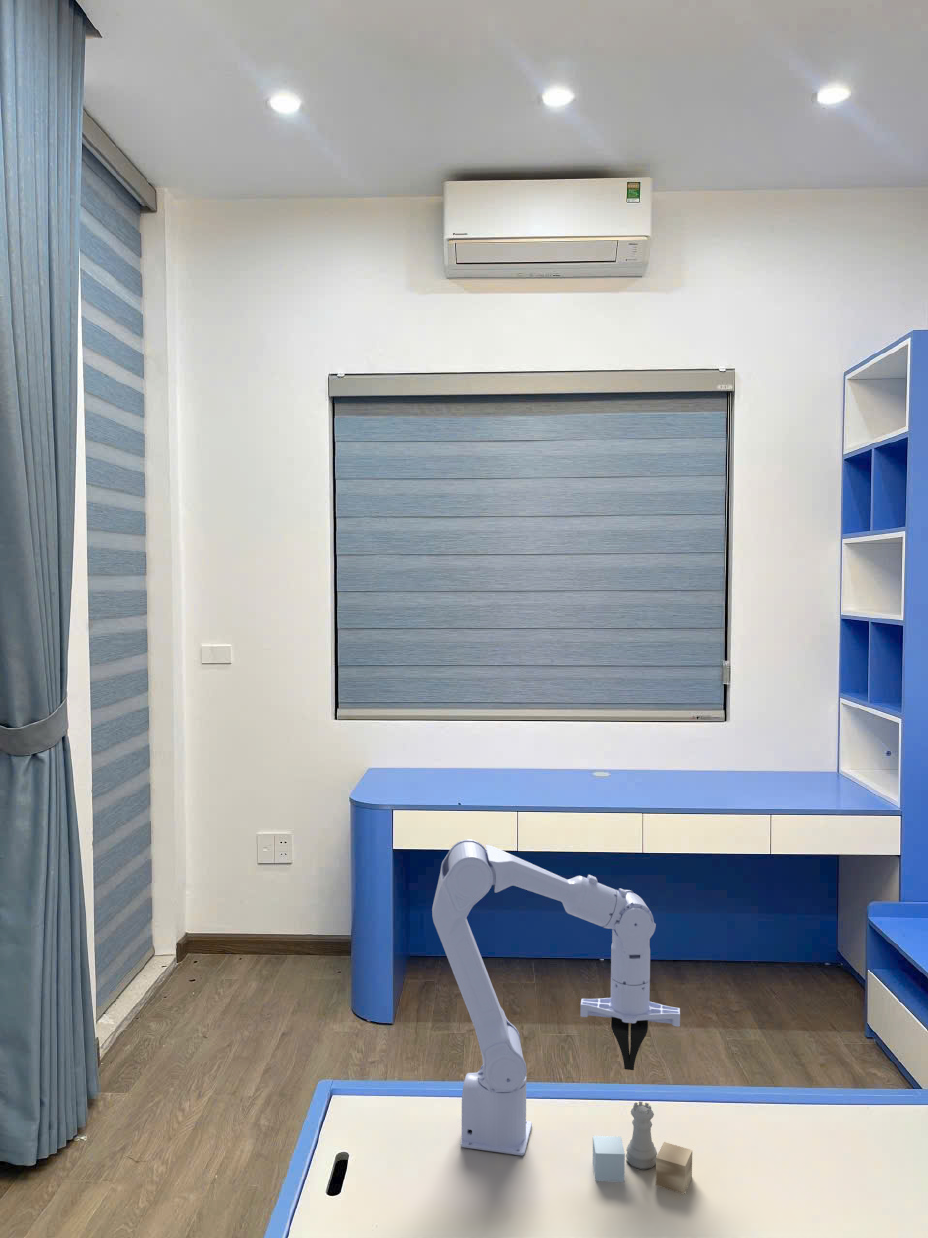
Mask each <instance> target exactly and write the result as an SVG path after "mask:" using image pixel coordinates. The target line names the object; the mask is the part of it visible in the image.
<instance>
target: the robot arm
mask: <svg viewBox="0 0 928 1238" xmlns="http://www.w3.org/2000/svg"><path fill="white" fill-rule="evenodd" d="M439 872H440V873H439V876H438V881H437V885H436V889H435V894H434V898H433V904H432V908H431V911H432V912H431V913H432V915H431V916H432V921H433V924H434V927H435V929H436V932H437V935H438V937H439V939H440V942H441V944H442V947H443V949H444V952H445V955H446V958H447V960H448V963H449V965H450V968H451V971H452V973H453V977H454V978H455V981H456V983H457V986H458V989H459V992H460V993H461V996H462V999H463V1002H464V1004H465V1006H466V1010H467V1012H468V1014H469V1017H470V1020H471V1022H472V1024H473V1027H474V1031H475V1034H476V1037H477V1041H478V1045H479V1050H480V1053H481V1059H482V1065H480V1068H479V1070H478V1071H477V1072H467V1073H466V1075H465V1077H464V1081H463V1085H462V1095H461V1140H460V1147H461V1148H466V1149H473V1150H479V1151H480V1150H481V1151H487V1152H494V1153H500V1154H501V1153H502V1154H507V1155H514V1156H515V1155H516V1156H524V1155H526V1150H527V1146H528V1142H529V1140H530V1139H529V1138H530V1134H531V1130H532V1128H533V1127H532V1126H533V1123H532V1121H530V1120H527V1063H526V1061H525V1059H524V1054H523V1049H522V1044H521V1034H520V1032H519V1031H518V1030H519V1029H518V1028H516V1026H515V1025H514V1024H513V1023H512V1022H510V1021H509V1019H508V1018H507V1016H506V1014H505V1013H506V1012H505V1011H504V1009H503V1008H502V1007H501V1004H500V1002H499V999H498V996H497V994H496V991H495V989H494V987H493V986H494V985H493V983H492V981H491V978H490V976H489V973H488V970H487V968H486V965H485V963H484V959H483V958H482V954H481V953H480V950H479V947H478V945H477V941H476V939H475V936H474V934H473V932H472V928H471V927H470V924H469V922H468V918H467V917H468V916H469V913H470V912H471V910H472V909H473V907H474V906H475V905H476V904H477V903H478V902H479V901H480V900H482V899H483V898H484V897H485V896H486V895H487V894H488V893H489V891H490V889H492V887H493V891H494V893H499V892H501V891H504V890H506V889H507V888H510V887H512V886H514V887H516V888H517V887H518V888H520V889H523V890H525V891H526V890H527V891H528V892H532V893H535V894H538V895H541V896H543V897H546V898H549V899H553V900H556V901H559V902H561V903H562V906H563V908H564V910H565V913H567V914H568V915H571V916H574V917H575V918H579V919H581V920H584V921H587V922H588V923H592V924H593V925H597V926H599V927H602V928H603V929H609V930H611V932H612V933H611V936H612V937H611V942H612V943H611V949H610V952H611V955H610V962H611V963H610V997H604V998H581V1000H580V1010H579V1011H580V1012H579V1013H580V1015H579V1016H580V1017H582V1018H588V1016H590V1017H591V1016H592V1017H602V1018H609V1019H611V1024H610V1025H611V1026H610V1028H611V1031H612V1033H613V1035H614V1038H615V1039H616V1042H617V1043H618V1047H619V1050H620V1053H621V1056H622V1059H623V1060H622V1061H623V1069H624V1070H628V1071H634V1070H635V1063H636V1059H637V1057H638V1052H639V1050H640V1048H641V1045H642V1044H643V1041H644V1039H645V1038H646V1036H647V1034H648V1031H649V1023H650V1022H651V1023H652V1022H653V1023H661V1024H662V1023H663V1024H671V1025H672V1026H673V1027H681V1008H680V1007H674V1006H669V1005H664V1004H661V1003H658V1002H654V1001H653V1002H652V1001H650V1000H651V999H650V996H651V995H650V993H651V992H650V989H651V985H650V984H651V981H650V980H651V948H650V941H651V940H650V939H651V938H652V936H653V935H654V933H655V932H656V927H657V926H656V925H657V923H655V921H654V915H653V913H652V911H651V910H650V908H649V907H648V906H647V904H646V902H645V901H644V899H643V898H642V897H641V896H639V895H638V894H637V893H634V891H633V890H632V889H631V890H630V889H623V888H618V889H615V888H612V887H610V886H607V885H605V884H603V883H600V882H598V878H597V877H596V876H593V875H591V874H587V877H585V876H582V875H576V876H574V877H572V878H569V879H567V878H565V877H562V876H561V875H558V874H556V873H553V872H552V871H549V870H547V869H544V868H542V867H540V866H538V865H536V864H533V863H531V862H529V861H527V860H525V859H522V858H520V857H518V856H516V855H513V854H511V853H509V852H506V851H505V850H502V849H500V848H499V847H497V846H496V847H495V846H494V845H489V844H485V846H484V845H483V844H481V843H480V841H477V840H474V839H462V840H459V841H457V842H456V843H455V844H453V845H452V846H451V848H450V849H449V850H448V852H447V854H446V856H445V857H444V859H443V860H442V862H441V865H440V871H439ZM629 1027H630V1030H629ZM629 1032H630V1033H629ZM629 1035H630V1039H629ZM629 1040H630V1041H629ZM629 1042H630V1043H629Z"/></svg>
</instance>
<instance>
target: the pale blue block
mask: <svg viewBox="0 0 928 1238" xmlns="http://www.w3.org/2000/svg"><path fill="white" fill-rule="evenodd" d="M622 1139H623V1138H622V1136H616V1135H615V1136H613V1135H611V1136H610V1135H608V1136H607V1135H592V1169H593V1174H594V1175H593V1176H594V1180H595V1182H614V1183H615V1182H616V1183H617V1182H621V1183H624V1182H625V1172H626V1171H625V1168H626V1167H625V1165H626V1163H625V1161H626V1160H625V1159H626V1154H625V1148H624V1144H623V1140H622Z"/></svg>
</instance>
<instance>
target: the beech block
mask: <svg viewBox="0 0 928 1238" xmlns="http://www.w3.org/2000/svg"><path fill="white" fill-rule="evenodd" d="M692 1178H693V1149H691V1148H690V1149H689V1148H687V1147H684V1146H681V1145H676V1144H673V1143H670V1142H666V1141H663V1143H662V1145H661V1147H660V1148H659V1151H658V1152H657V1157H656V1164H655V1186H657V1187H659V1188H663V1189H666V1190H670V1191H672V1192H674V1193H675V1192H676V1193H679V1194H682V1195H686V1192H687V1190H688V1188H689V1186H690V1183H691V1181H692Z"/></svg>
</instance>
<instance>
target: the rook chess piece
mask: <svg viewBox="0 0 928 1238" xmlns="http://www.w3.org/2000/svg"><path fill="white" fill-rule="evenodd" d="M632 1106H633V1107H632V1108H631V1110H630V1115H631V1116H632V1117H633V1120H632V1122H631V1123H632V1127H633V1130H632V1134H631V1135H632V1137H631V1139H630V1140H629V1143H628V1144H627V1147H626V1154H625V1159H626V1160H627V1162H628V1163H629V1164H630V1165H631V1166H632V1167H633V1168H635V1169H638V1170H649V1169H650V1170H651V1169H652V1168H653V1167H655V1166H656V1157H657V1155H658V1152H657V1148H656V1146H655V1144H654V1142H653V1140H652V1139H653V1138H652V1132H651V1131H652V1129H651V1128H652V1126H653V1123H652V1119H653V1118H654V1116H655V1114H654V1111H653V1110H652V1106H651V1105H650V1103H648V1102H645V1103H644V1104H643V1101H638V1102H634V1104H633V1105H632Z"/></svg>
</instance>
